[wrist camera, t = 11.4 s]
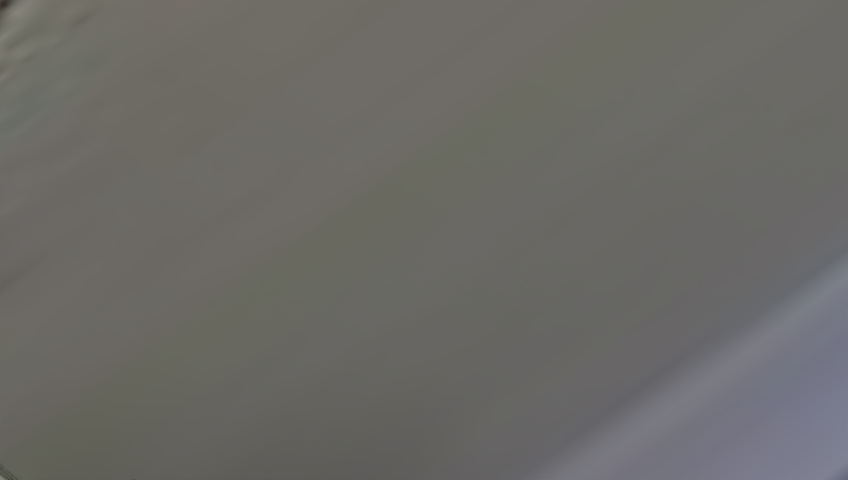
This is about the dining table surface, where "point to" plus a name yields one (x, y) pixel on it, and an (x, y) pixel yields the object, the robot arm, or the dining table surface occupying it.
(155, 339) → the dining table surface
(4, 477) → the offcut rack
